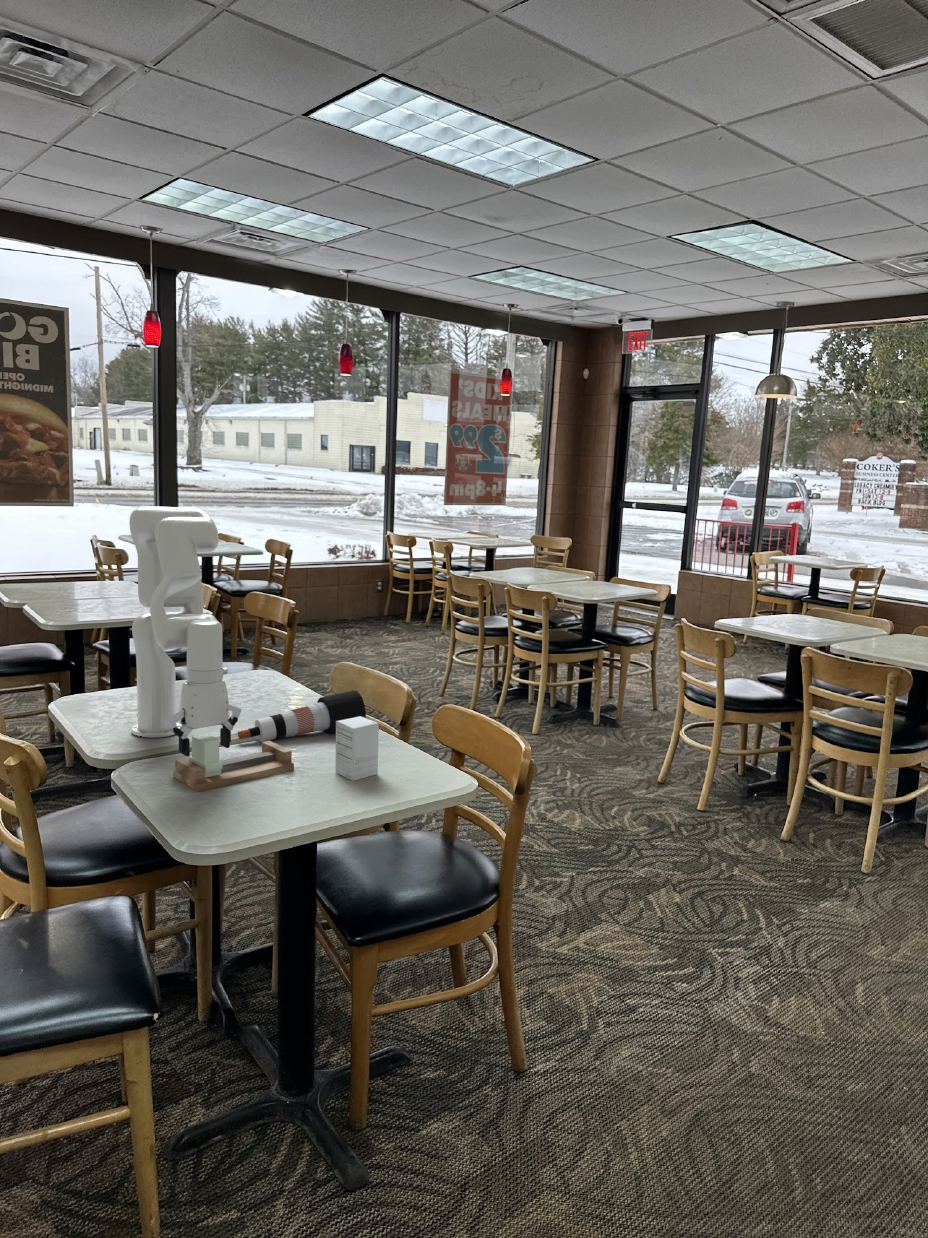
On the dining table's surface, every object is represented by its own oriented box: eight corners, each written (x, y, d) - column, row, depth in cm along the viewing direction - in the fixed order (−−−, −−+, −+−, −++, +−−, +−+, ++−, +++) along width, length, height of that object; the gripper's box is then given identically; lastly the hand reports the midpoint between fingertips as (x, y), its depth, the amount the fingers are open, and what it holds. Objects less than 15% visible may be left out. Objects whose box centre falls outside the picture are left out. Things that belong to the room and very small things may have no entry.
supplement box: (359, 766, 206) (361, 715, 204) (378, 775, 201) (379, 722, 199) (334, 772, 201) (335, 720, 199) (352, 781, 196) (353, 727, 194)
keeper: (188, 769, 194) (188, 735, 193) (205, 765, 197) (205, 731, 196) (205, 778, 189) (205, 743, 187) (222, 775, 191) (222, 740, 190)
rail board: (173, 776, 194) (173, 758, 193) (266, 756, 211) (267, 739, 210) (198, 791, 186) (198, 772, 185) (293, 769, 202) (294, 752, 201)
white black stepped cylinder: (238, 758, 223) (229, 720, 224) (356, 729, 240) (346, 694, 242) (248, 751, 214) (238, 712, 216) (369, 721, 232) (359, 686, 234)
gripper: (231, 668, 198) (232, 739, 201) (159, 677, 186) (160, 753, 189) (248, 674, 193) (248, 747, 195) (175, 684, 181) (176, 762, 183)
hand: (205, 750), depth 192 cm, fingers open, 9 cm apart
